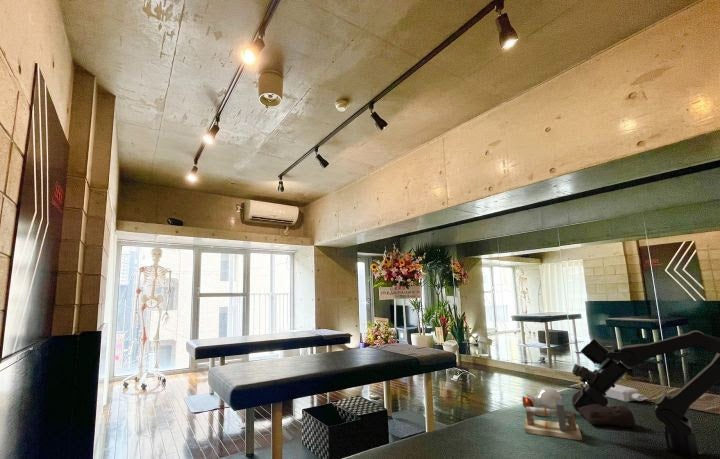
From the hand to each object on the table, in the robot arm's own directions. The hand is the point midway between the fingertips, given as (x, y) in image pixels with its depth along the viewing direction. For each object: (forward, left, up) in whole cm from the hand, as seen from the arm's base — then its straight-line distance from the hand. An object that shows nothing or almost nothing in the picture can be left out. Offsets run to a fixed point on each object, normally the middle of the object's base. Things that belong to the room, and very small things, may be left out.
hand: (575, 406), depth 119 cm
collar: (+3, +4, -7) cm, 8 cm away
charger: (+23, -51, -9) cm, 57 cm away
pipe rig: (+5, +6, -9) cm, 12 cm away
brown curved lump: (+7, -18, -9) cm, 22 cm away
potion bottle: (+22, -6, -9) cm, 25 cm away
